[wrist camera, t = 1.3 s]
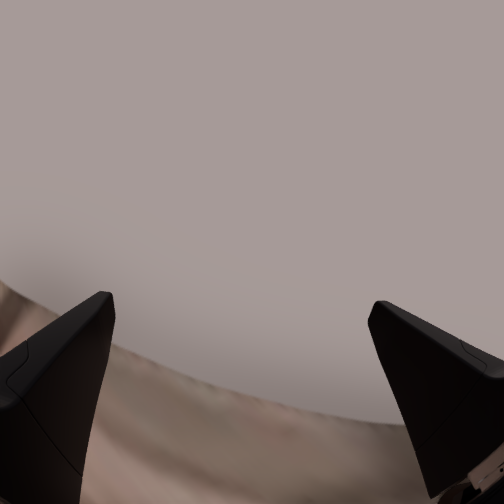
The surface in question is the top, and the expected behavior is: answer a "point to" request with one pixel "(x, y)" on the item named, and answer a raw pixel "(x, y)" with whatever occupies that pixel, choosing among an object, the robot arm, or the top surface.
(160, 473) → the top surface
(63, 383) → the robot arm
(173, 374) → the top surface
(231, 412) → the top surface
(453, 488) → the coffee mug
